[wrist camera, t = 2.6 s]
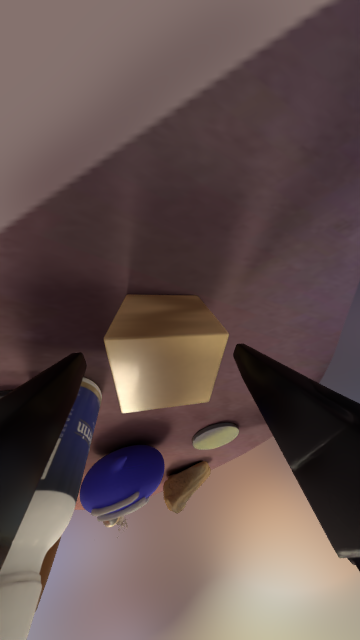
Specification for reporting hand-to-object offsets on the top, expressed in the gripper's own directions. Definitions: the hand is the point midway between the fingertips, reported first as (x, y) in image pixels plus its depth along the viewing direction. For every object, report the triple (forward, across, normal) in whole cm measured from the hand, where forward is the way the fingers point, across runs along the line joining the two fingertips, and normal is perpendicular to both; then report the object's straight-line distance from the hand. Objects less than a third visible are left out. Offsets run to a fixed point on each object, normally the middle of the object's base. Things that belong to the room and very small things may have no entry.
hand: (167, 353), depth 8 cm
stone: (0, 0, +38) cm, 38 cm away
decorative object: (+3, +5, +21) cm, 22 cm away
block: (+3, 0, 0) cm, 3 cm away
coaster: (+3, -9, +22) cm, 24 cm away
